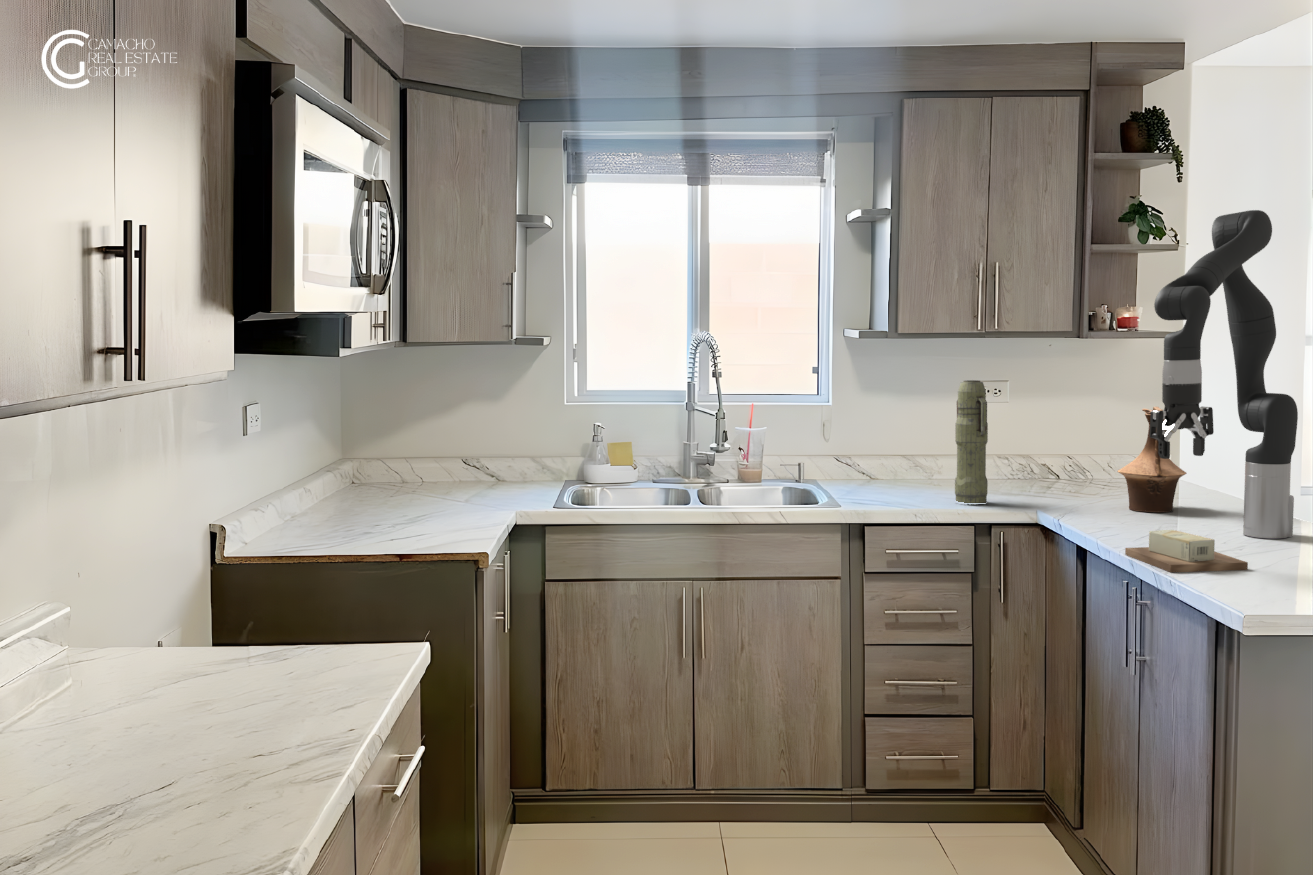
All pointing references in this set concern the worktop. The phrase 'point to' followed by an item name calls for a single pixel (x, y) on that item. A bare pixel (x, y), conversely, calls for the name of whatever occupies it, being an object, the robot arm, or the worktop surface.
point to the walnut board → (1178, 565)
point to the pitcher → (1151, 477)
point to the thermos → (971, 443)
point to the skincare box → (1181, 545)
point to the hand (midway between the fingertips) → (1181, 457)
